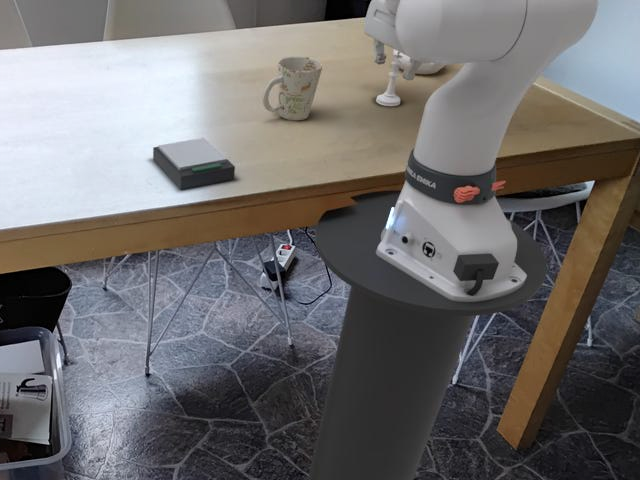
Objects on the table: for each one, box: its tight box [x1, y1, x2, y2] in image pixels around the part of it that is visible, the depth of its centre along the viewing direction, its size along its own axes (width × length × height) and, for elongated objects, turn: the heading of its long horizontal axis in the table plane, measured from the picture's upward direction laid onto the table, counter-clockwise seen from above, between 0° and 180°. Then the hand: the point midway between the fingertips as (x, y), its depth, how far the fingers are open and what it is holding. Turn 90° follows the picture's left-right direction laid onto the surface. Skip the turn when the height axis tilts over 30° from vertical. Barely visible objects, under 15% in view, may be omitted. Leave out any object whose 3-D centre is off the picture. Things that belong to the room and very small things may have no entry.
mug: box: [262, 56, 323, 121], centre depth 141 cm, size 8×13×10 cm, turn 125°
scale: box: [152, 137, 236, 191], centre depth 126 cm, size 12×10×3 cm
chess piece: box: [375, 52, 402, 107], centre depth 148 cm, size 5×5×10 cm
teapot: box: [392, 49, 447, 75], centre depth 163 cm, size 20×12×10 cm, turn 10°
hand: (393, 71), depth 147 cm, fingers open, 8 cm apart
